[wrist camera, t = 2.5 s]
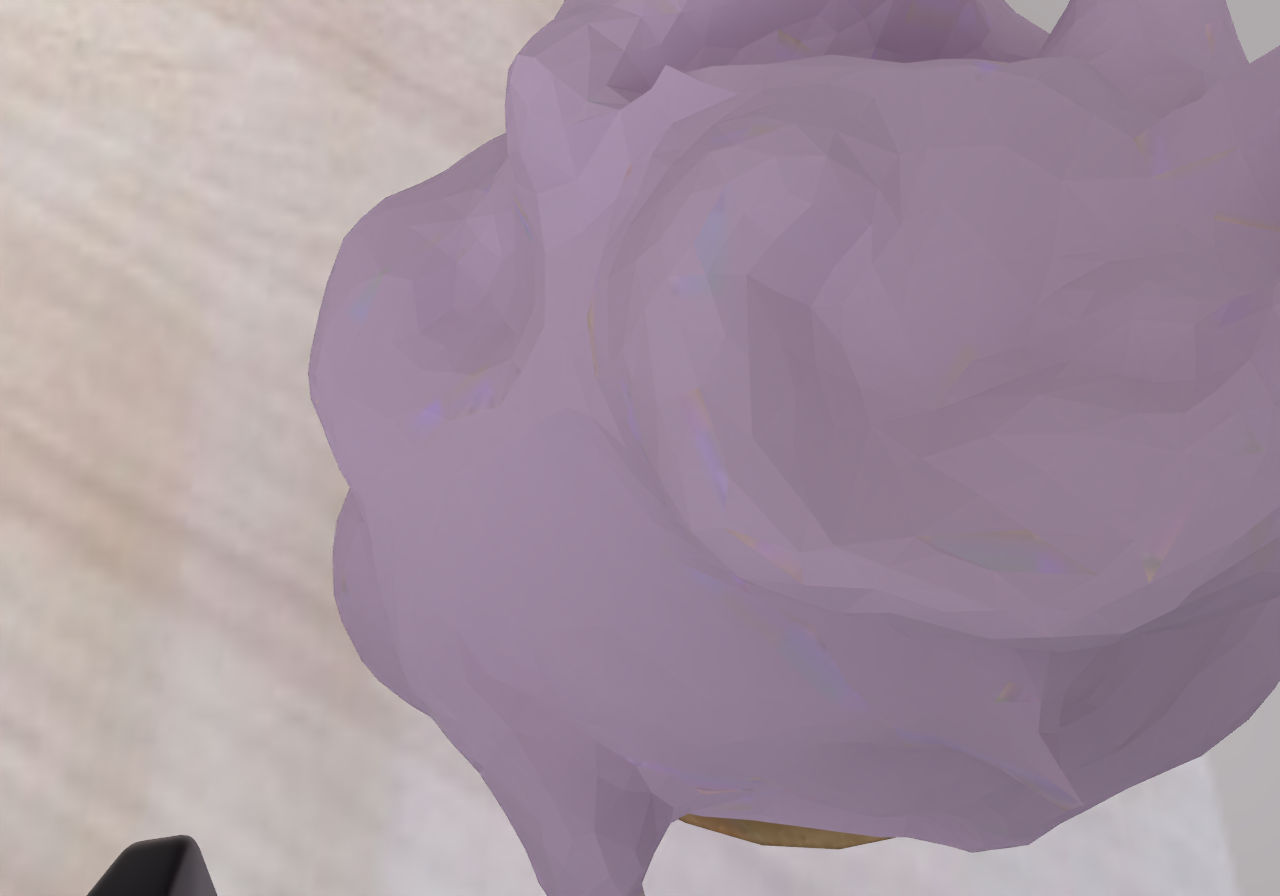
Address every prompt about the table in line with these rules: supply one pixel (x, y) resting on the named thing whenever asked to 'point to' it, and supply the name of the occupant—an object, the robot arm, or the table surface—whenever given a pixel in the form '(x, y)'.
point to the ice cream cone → (823, 422)
